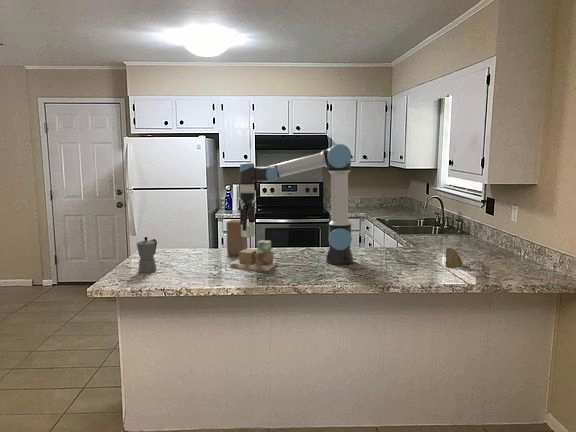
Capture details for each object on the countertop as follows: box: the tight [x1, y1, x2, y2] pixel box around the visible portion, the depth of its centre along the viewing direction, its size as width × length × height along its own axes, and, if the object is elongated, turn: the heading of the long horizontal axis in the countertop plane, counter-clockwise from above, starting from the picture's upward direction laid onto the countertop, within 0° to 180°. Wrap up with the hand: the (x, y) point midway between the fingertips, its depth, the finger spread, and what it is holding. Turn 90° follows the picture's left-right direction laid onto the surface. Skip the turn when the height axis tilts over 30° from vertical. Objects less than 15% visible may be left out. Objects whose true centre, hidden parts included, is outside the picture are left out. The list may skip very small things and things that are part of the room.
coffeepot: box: [136, 236, 158, 274], centre depth 230 cm, size 15×9×18 cm, turn 162°
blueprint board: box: [229, 258, 278, 272], centre depth 239 cm, size 22×13×2 cm, turn 69°
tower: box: [256, 239, 274, 266], centre depth 236 cm, size 7×7×12 cm
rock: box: [444, 247, 463, 269], centre depth 237 cm, size 11×9×10 cm
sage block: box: [241, 223, 256, 238], centre depth 238 cm, size 6×6×6 cm
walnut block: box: [238, 248, 257, 264], centre depth 240 cm, size 7×7×6 cm
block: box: [226, 219, 248, 256], centre depth 268 cm, size 10×10×20 cm
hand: (247, 235), depth 238 cm, fingers closed on sage block, 5 cm apart
